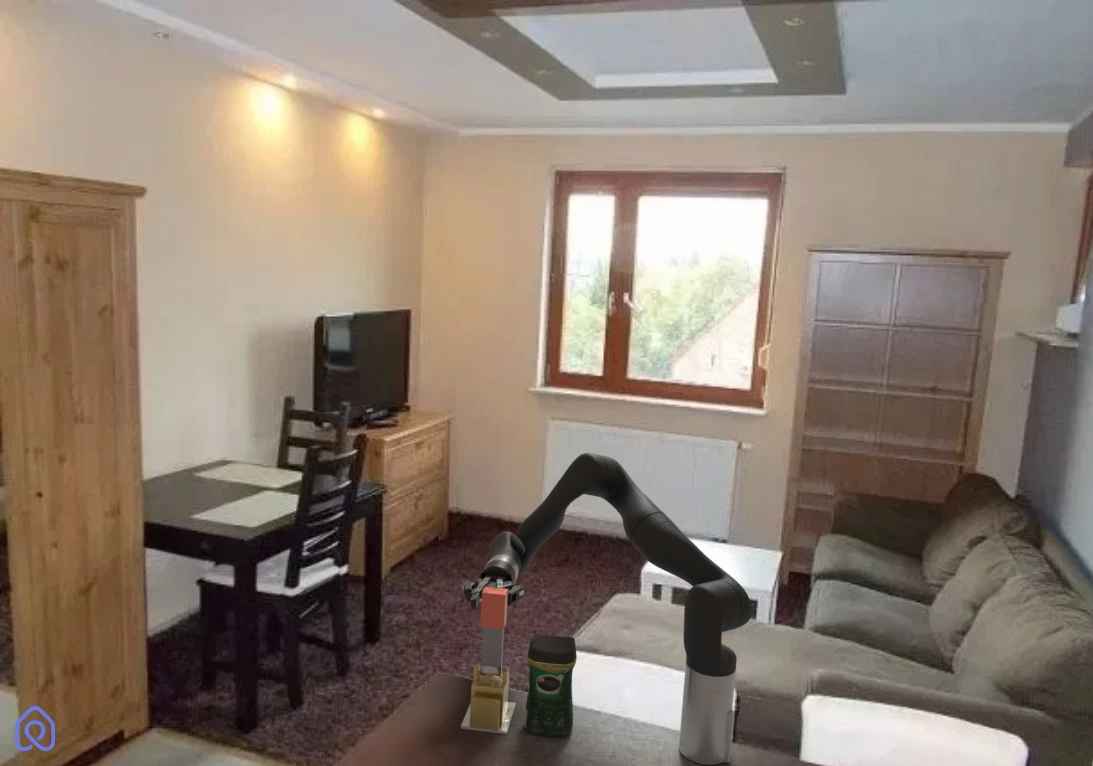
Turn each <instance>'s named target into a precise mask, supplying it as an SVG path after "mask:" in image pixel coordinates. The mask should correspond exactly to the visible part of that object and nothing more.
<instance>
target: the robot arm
mask: <svg viewBox="0 0 1093 766" xmlns="http://www.w3.org/2000/svg"><path fill="white" fill-rule="evenodd" d="M583 495H586V496H592V497H597V498H601V499H603V500H605V501H606V502H607V503H609V505H611V506H612V507H613V509H614V510H616V512H617V513H618V514H619V515H620V516H621V519H622V525H623V529H624V533H625V536H626V537H627V539H628V541H629V542H630V544H631V545H632V546H633V547H634V548H635V549H636V550H637V551H638V552H639V553H640V555H641V556H642V557H643V558H644V559H645V560H646V561H648V562H649V563H650V564H651V565H653V566H654V567H657V568H659V569H660V570H663V571H664V572H667V573H668V574H671V575H673V576H675V577H677V578H679V579H681V580H683V581H685V582H686V583H688V584H689V585H690V586H692V587H691V588H690V589H689V590H688V592H687V593H686V594H687V595H686V596H685V597H686V598H685V601H684V609H683V611H684V613H683V614H684V615H683V648H684V651H685V657H686V658H685V669H684V678H683V679H684V681H683V682H684V683H683V691H682V693H683V694H682V704H681V706H682V707H681V717H680V730H679V737H678V738H679V739H678V740H679V742H678V749H679V752H680V754H681V755H682V756H683V757H684V758H686V759H688V761H689V760H690V761H691V762H694V763H697V764H701V765H707V766H714V765H719V764H724V763H725V764H726V763H727V764H729V763H730V760H731V751H732V737H733V727H734V715H735V714H734V710H733V704H734V695H735V681H736V671H737V661H738V660H737V655H736V652H735V650H733V649H732V648H730V647H729V646H727V645H725V644H723V643H722V637H723V636H722V635H723V633H725V632H728V631H732V630H736V629H738V628H741V627H743V626H745V625H746V624H748V622H750V620H751V618H752V615H753V614H752V613H753V609H752V608H753V607H752V602H751V599H750V596H749V595H748V593H747V591H746V590H745V588H744V587H743V586H742V585H741V584H740V582H738V581H737V580H736V579H735V578H734V577H732V575H730V574H729V573H728V572H727V571H725V570H724V569H723V568H722V567H720V566H719V565H718V564H716V563H715V562H714V561H713V560H712V559H711V558H710V557H708V556H707V555H706V554H705V553H704V552H703V551H702V550H701V549H700V548H699V547H698V546H697V545H696V544H695V543H694V542H693V541H691V539H690V538H689V537H688V536H687V535H686V534H685V533H683V531H682V530H681V529H680V528H679V527H678V526H677V524H676V523H674V522H673V521H672V520H671V519H670V517H668V516H667V514H666V513H665V512H664V511H662V510H661V509H660V507H658V506H657V505H656V504H655V503H654V501H652V500H651V499H650V498H649V497H648V496H647V495H646V494H645V493H644V492H643V491H642V490H641V489H640V488H639V487H638V486H637V484H636V483H635V482H634V480H633V479H632V477H630V475H629V473H628V472H627V471H626V470H625V469H624V467H623V466H622V465H621V463H619V462H618V461H617V460H616V459H615V458H612V457H610V456H607V455H601V454H599V453H593V452H585V453H581V454H580V455H578V456H577V457H576V458H575V459H574V460H573V461H572V462H571V464H570V465H569V466H568V468H567V469H566V470H565V472H564V473H563V474H562V475H561V477H560V478H559V480H558V481H557V482H556V484H555V485H554V486H553V488H552V489H551V491H550V493H549V494H548V495H547V497H545V498H544V500H543V501H542V502H541V504H540V505H539V506H538V507H537V508H536V509H535V510H533V512H531V513H530V514H529V515H528V516H527V517H526V518H525V519H524V520H523V521H522V522H521V523H520V524H519V525H518V526H517V535H516V534H514V533H513V532H511V531H505V530H504V531H502V532H500V533H498V534H497V535H496V536H495V537H494V539H493V540H492V542H491V544H490V547H489V559H490V560H488V561H487V563H486V564H485V566H484V568H483V569H482V571H481V573H480V575H479V577H478V578H477V579H475V581H473V582H472V581H469V580H468V579H466V578H465V579H462V580H461V581H462V582H461V592H462V595H463V597H464V599H465V601H468V602H469V604H470V607H472V609H473V610H476V609H478V606H479V604H480V602H482V592H483V590H484V588H485V587H492V588H501V589H508V597H507V606H512V605H513V604H514V603H516V602H518V601H520V600H521V599H523V598H524V594H525V593H524V592H525V585H524V584H519V585H515V584H516V583H517V580H518V575H519V574H523V573H524V572H525V571H526V570H528V568H529V567H530V565H531V563H532V561H533V559H534V558H535V556H536V554H537V552H538V551H539V549H540V548H541V547H542V545H544V544H545V543H546V542H547V541H548V540H549V539H550V538H551V537H553V535H555V533H557V531H558V530H559V529H560V528H561V526H562V524H563V522H564V520H565V519H564V518H565V515H566V513H567V512H566V511H567V509H568V507H569V506H570V505H571V504H572V503H573V502H574V501H575V500H577V499H578V498H580V497H581V496H583ZM473 589H474V590H473Z"/></svg>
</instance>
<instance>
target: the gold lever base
mask: <svg viewBox="0 0 1093 766" xmlns="http://www.w3.org/2000/svg"><path fill="white" fill-rule="evenodd" d="M473 667H474V668H473V673H472V674H473V676H472V679H473V681H472V684H471V689H470V690H471V691H470V694H471V695H470V703H469V706H468V708H467V711H466V713H465V715H464V717H463V719H462V720H463V721H462V723H461V725H460V729H461V730H469V731H470V730H471V731H477V732H487V733H492V734H493V733H494V734H500V735H501V734H503V735H508V731H509V728H510V725H511V722H512V719H513V715H514V712H515V709H516V705H517V702H511V701H509V690H510V689H509V688H510V666H508V665H507V666H504V667H503V668H504V669H502V675H501V677H494V676H485V675H480V669H481V662H480V663H475V665H474V666H473Z"/></svg>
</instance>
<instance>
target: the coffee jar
mask: <svg viewBox="0 0 1093 766" xmlns="http://www.w3.org/2000/svg"><path fill="white" fill-rule="evenodd" d="M576 646H577V645H576V640H575V637H573V636H568V637H567V636H561V635H560V636H559V635H549V634H539V633H534V634H533V635H532V637H531V639H530V642H529V645H528V651H527V654H526V655H527V656H526V660H527V664H528V667H529V681H528V689H527V697H526V703H525V709H524V719H523V721H524V722H523V726H524V728H525V730H526V731H527V732H529V733H531V734H533V735H538V736H545V737H556V738H557V737H560V738H561V737H565V736H567V735H568V734H570V733H571V731H572V729H573V726H574V707H573V706H574V704H573V671H574V668H575V665H576V663H577V659H578V658H577V657H578V656H577V647H576Z"/></svg>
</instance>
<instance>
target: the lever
mask: <svg viewBox="0 0 1093 766" xmlns="http://www.w3.org/2000/svg"><path fill="white" fill-rule="evenodd" d="M507 597H508V589H501V588H492V587H485V588H484V590H483V592H482V601H481V608H480V627H482V635H481V638H482V639H481V658H480V661H481V662H480V675H485V676H494V677H501V675H502V673H503V657H504V656H503V655H504V654H503V651H504V635H505V634H504V633H505V632H504V630H505V626H506V625H507V615H508V614H507V612H508V605H507Z"/></svg>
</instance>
